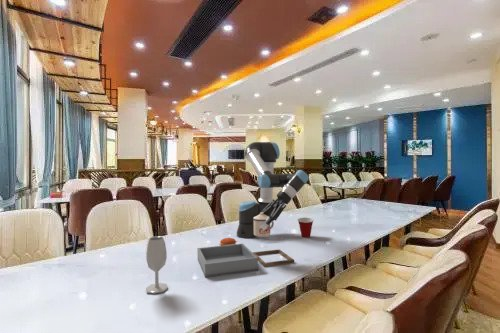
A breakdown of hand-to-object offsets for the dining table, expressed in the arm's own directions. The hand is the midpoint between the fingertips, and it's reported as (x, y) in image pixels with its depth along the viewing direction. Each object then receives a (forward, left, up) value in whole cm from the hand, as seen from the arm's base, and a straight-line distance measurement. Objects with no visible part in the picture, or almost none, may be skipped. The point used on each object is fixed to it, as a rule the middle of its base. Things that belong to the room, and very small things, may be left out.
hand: (258, 226), depth 150 cm
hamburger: (-24, -10, -18) cm, 32 cm away
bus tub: (0, -17, -18) cm, 25 cm away
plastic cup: (-33, +46, -18) cm, 59 cm away
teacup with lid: (0, +3, -5) cm, 6 cm away
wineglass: (+18, -50, -18) cm, 56 cm away
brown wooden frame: (0, +8, -18) cm, 19 cm away
